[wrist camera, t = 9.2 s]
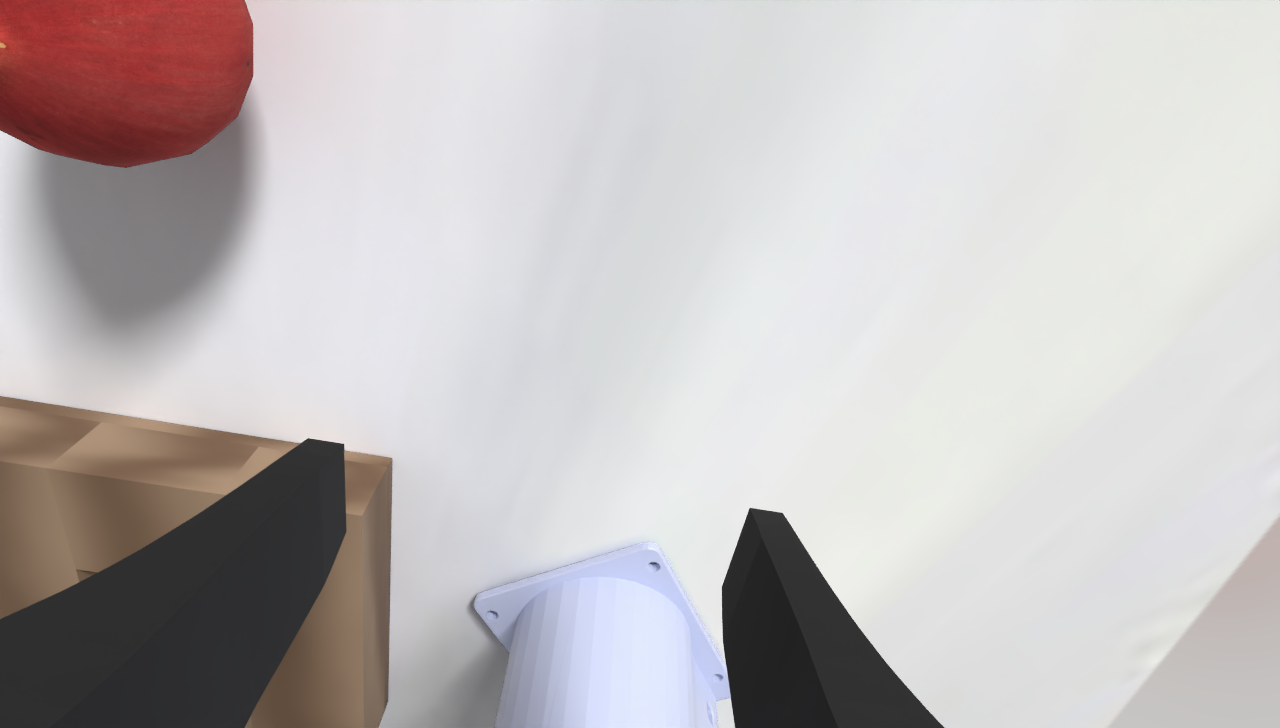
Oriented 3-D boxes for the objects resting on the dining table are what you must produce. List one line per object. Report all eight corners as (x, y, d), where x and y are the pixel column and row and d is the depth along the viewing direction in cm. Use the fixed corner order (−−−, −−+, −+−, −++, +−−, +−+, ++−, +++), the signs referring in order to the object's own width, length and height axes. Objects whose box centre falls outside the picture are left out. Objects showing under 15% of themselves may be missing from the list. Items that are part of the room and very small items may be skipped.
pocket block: (392, 458, 25) (361, 515, 22) (387, 700, 32) (364, 766, 29) (-24, 392, 24) (-106, 445, 21) (64, 658, 31) (10, 723, 28)
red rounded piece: (53, 41, 18) (-313, 88, 11) (106, -187, 16) (-316, -306, 9) (268, 168, 20) (61, 276, 13) (346, -24, 18) (144, -17, 11)
